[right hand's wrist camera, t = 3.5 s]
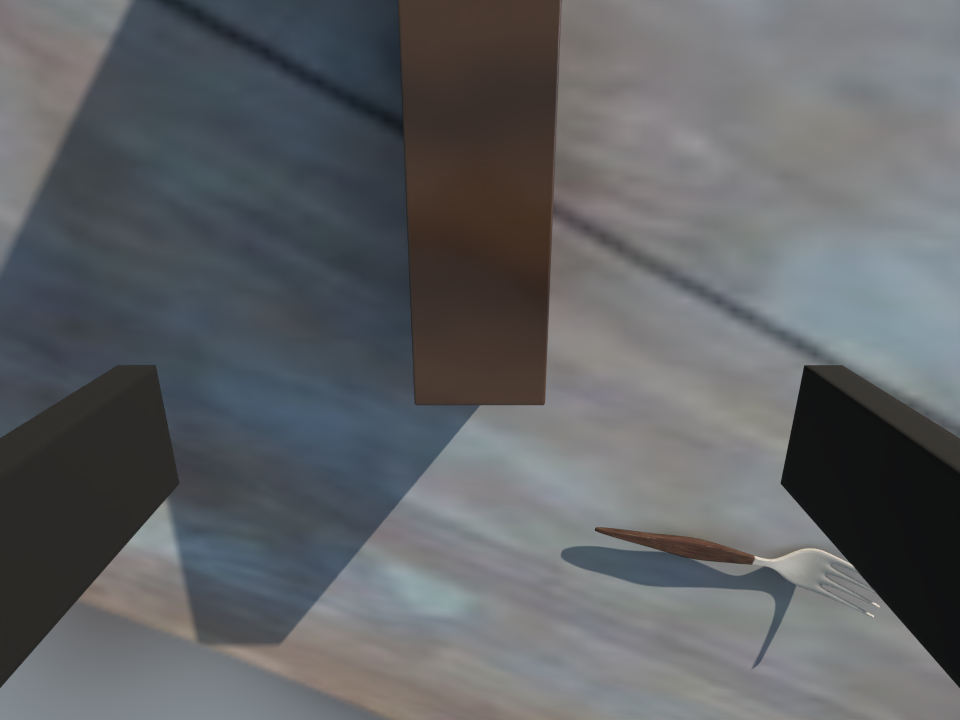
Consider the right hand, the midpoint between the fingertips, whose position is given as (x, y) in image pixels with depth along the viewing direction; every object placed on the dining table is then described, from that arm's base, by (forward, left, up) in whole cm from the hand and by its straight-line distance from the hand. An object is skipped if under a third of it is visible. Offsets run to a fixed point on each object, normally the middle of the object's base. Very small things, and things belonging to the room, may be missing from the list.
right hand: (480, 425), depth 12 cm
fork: (-16, -14, -17) cm, 27 cm away
